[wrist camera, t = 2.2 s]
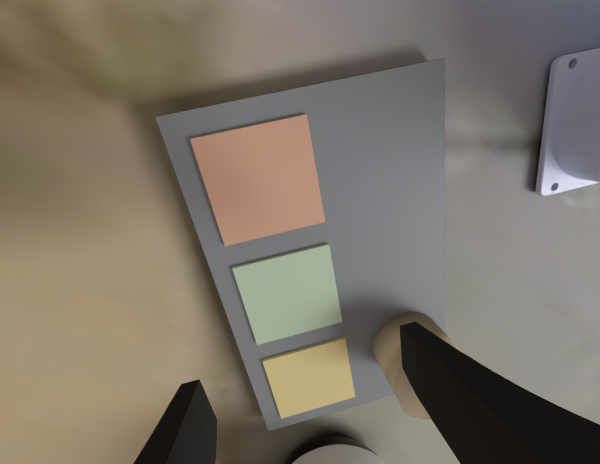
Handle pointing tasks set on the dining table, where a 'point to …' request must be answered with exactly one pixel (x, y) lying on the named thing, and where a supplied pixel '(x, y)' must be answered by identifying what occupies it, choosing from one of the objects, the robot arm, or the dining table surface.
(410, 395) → the disc
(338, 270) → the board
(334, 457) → the spread jar
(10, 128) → the dining table surface
